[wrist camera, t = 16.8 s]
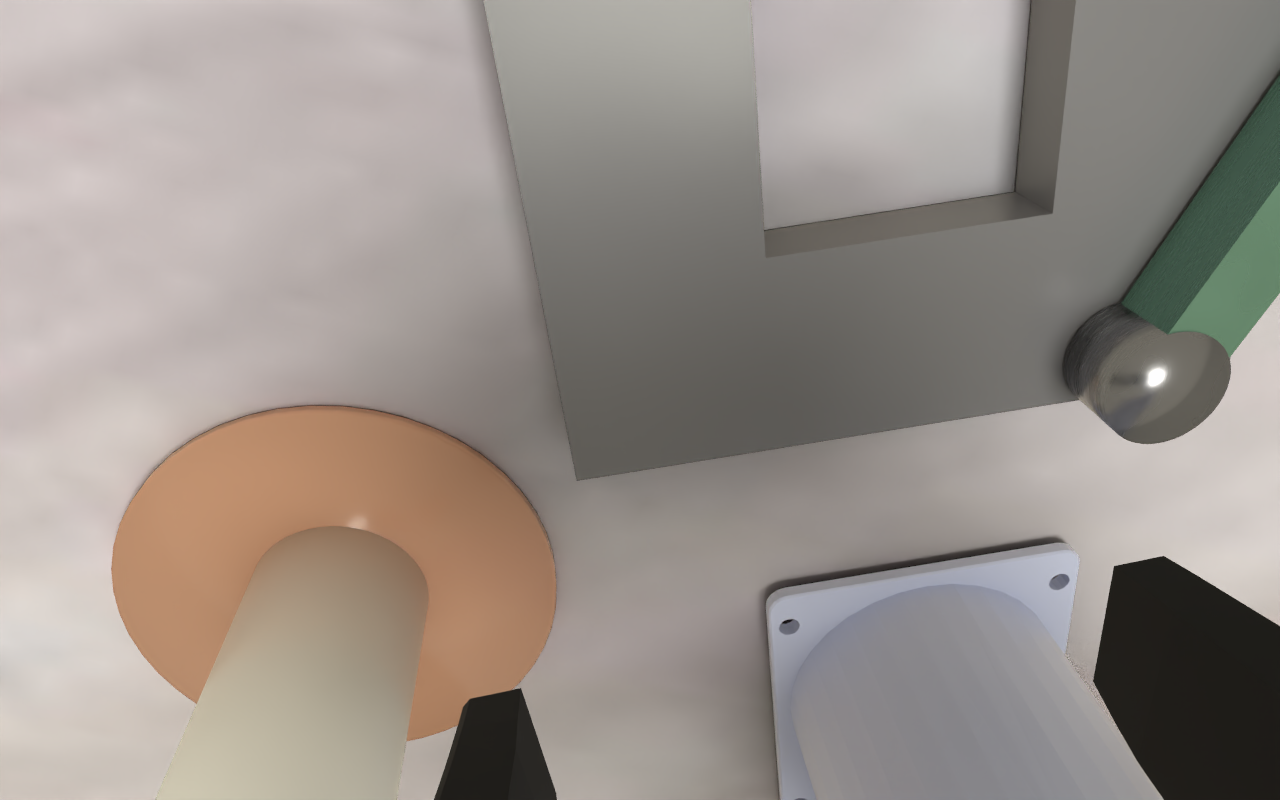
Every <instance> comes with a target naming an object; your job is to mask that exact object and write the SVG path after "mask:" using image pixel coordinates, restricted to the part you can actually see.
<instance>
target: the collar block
mask: <svg viewBox="0 0 1280 800" xmlns="http://www.w3.org/2000/svg"><path fill="white" fill-rule="evenodd" d="M483 2H484V7H485V12H486V17H487V23H488V28H489V33H490V38H491V43H492V48H493V53H494V59H495V64H496V69H497V74H498V79H499V84H500V89H501V94H502V100H503V105H504V110H505V115H506V120H507V125H508V130H509V136H510V141H511V146H512V151H513V156H514V161H515V166H516V172H517V177H518V182H519V187H520V192H521V197H522V202H523V207H524V213H525V218H526V223H527V228H528V233H529V238H530V243H531V249H532V254H533V259H534V264H535V269H536V274H537V279H538V285H539V290H540V295H541V300H542V305H543V310H544V315H545V320H546V326H547V331H548V336H549V341H550V346H551V351H552V356H553V362H554V367H555V372H556V377H557V382H558V387H559V392H560V398H561V403H562V408H563V413H564V418H565V423H566V428H567V433H568V439H569V444H570V449H571V454H572V459H573V464H574V469H575V475H576V480H577V481H579V480H585V479H591V478H598V477H604V476H610V475H616V474H622V473H629V472H635V471H641V470H647V469H654V468H660V467H666V466H672V465H678V464H685V463H691V462H697V461H703V460H709V459H716V458H722V457H728V456H734V455H740V454H747V453H753V452H759V451H765V450H772V449H778V448H784V447H790V446H796V445H803V444H809V443H815V442H821V441H827V440H834V439H840V438H846V437H852V436H858V435H865V434H871V433H877V432H883V431H890V430H896V429H902V428H908V427H914V426H921V425H927V424H933V423H939V422H945V421H952V420H958V419H964V418H970V417H976V416H983V415H989V414H995V413H1001V412H1007V411H1014V410H1020V409H1026V408H1032V407H1039V406H1045V405H1051V404H1057V403H1063V402H1070V401H1076V400H1079V399H1078V398H1077V397H1076V396H1075V395H1074V394H1073V393H1072V392H1071V391H1070V390H1069V388H1068V387H1067V384H1066V382H1065V379H1064V374H1063V362H1064V357H1065V354H1066V351H1067V348H1068V346H1069V344H1070V342H1071V340H1072V339H1073V337H1074V335H1075V334H1076V333H1077V331H1078V330H1079V329H1080V328H1081V327H1082V326H1083V325H1084V324H1085V323H1086V322H1087V321H1088V320H1089V319H1090V318H1091V317H1093V316H1094V315H1095V314H1097V313H1098V312H1100V311H1102V310H1103V309H1105V308H1107V307H1109V306H1111V305H1114V304H1117V303H1120V302H1122V301H1123V300H1124V298H1125V297H1126V295H1127V294H1128V292H1129V291H1130V290H1131V288H1132V287H1133V285H1134V284H1135V282H1136V281H1137V280H1138V278H1139V277H1140V275H1141V274H1142V272H1143V271H1144V269H1145V268H1146V267H1147V265H1148V264H1149V262H1150V261H1151V259H1152V258H1153V256H1154V255H1155V254H1156V252H1157V251H1158V249H1159V248H1160V246H1161V245H1162V244H1163V242H1164V241H1165V239H1166V238H1167V236H1168V235H1169V233H1170V232H1171V231H1172V229H1173V228H1174V226H1175V225H1176V223H1177V222H1178V221H1179V219H1180V218H1181V216H1182V215H1183V213H1184V212H1185V210H1186V209H1187V208H1188V206H1189V205H1190V203H1191V202H1192V200H1193V199H1194V197H1195V196H1196V195H1197V193H1198V192H1199V190H1200V189H1201V187H1202V186H1203V185H1204V183H1205V182H1206V180H1207V179H1208V177H1209V176H1210V174H1211V173H1212V172H1213V170H1214V169H1215V167H1216V166H1217V164H1218V163H1219V162H1220V160H1221V159H1222V157H1223V156H1224V154H1225V153H1226V151H1227V150H1228V149H1229V147H1230V146H1231V144H1232V143H1233V141H1234V140H1235V138H1236V137H1237V136H1238V134H1239V133H1240V131H1241V130H1242V128H1243V127H1244V126H1245V124H1246V123H1247V121H1248V120H1249V118H1250V117H1251V115H1252V114H1253V113H1254V111H1255V110H1256V108H1257V107H1258V105H1259V104H1260V102H1261V101H1262V100H1263V98H1264V97H1265V95H1266V94H1267V92H1268V91H1269V90H1270V88H1271V87H1272V85H1273V84H1274V82H1275V81H1276V79H1277V78H1278V77H1279V75H1280V0H1032V3H1031V14H1030V26H1029V37H1028V49H1027V61H1026V72H1025V84H1024V95H1023V107H1022V119H1021V130H1020V142H1019V153H1018V165H1017V177H1016V188H1015V192H1012V193H1005V194H999V195H993V196H986V197H980V198H973V199H967V200H960V201H954V202H947V203H941V204H934V205H928V206H921V207H915V208H908V209H902V210H895V211H889V212H882V213H876V214H869V215H863V216H856V217H850V218H843V219H837V220H831V221H824V222H818V223H811V224H805V225H798V226H792V227H785V228H779V229H772V230H766V231H764V222H763V205H762V187H761V170H760V153H759V135H758V118H757V101H756V83H755V66H754V49H753V31H752V14H751V0H483ZM1230 357H1231V356H1230ZM1229 359H1230V358H1229Z"/></svg>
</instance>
